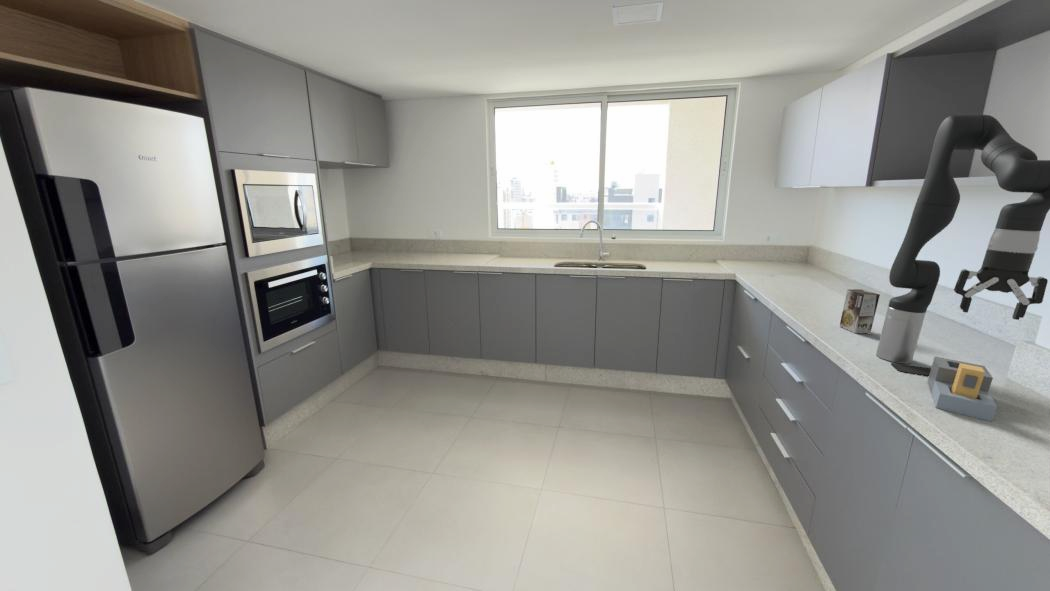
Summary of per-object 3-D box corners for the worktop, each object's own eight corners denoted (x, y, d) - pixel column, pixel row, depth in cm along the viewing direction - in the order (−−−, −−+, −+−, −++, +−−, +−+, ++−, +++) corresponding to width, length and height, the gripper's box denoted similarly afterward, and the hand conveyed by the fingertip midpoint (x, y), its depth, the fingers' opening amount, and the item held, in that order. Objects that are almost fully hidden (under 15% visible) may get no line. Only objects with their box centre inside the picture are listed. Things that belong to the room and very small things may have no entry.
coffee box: (871, 334, 164) (881, 294, 160) (854, 333, 164) (864, 294, 160) (853, 326, 173) (862, 289, 169) (838, 326, 173) (846, 288, 169)
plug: (948, 397, 111) (959, 363, 108) (970, 403, 108) (981, 367, 106) (951, 404, 107) (962, 368, 105) (973, 410, 105) (985, 373, 102)
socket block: (927, 381, 123) (934, 356, 121) (975, 392, 117) (984, 366, 115) (935, 407, 107) (944, 379, 105) (992, 421, 101) (1002, 391, 99)
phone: (889, 362, 135) (949, 370, 130) (889, 364, 136) (949, 373, 130) (899, 371, 129) (962, 380, 123) (898, 373, 129) (962, 382, 123)
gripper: (1052, 251, 96) (1028, 318, 101) (965, 244, 105) (946, 306, 109) (1063, 254, 91) (1038, 325, 95) (970, 247, 99) (951, 312, 103)
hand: (989, 315), depth 102 cm, fingers open, 8 cm apart
